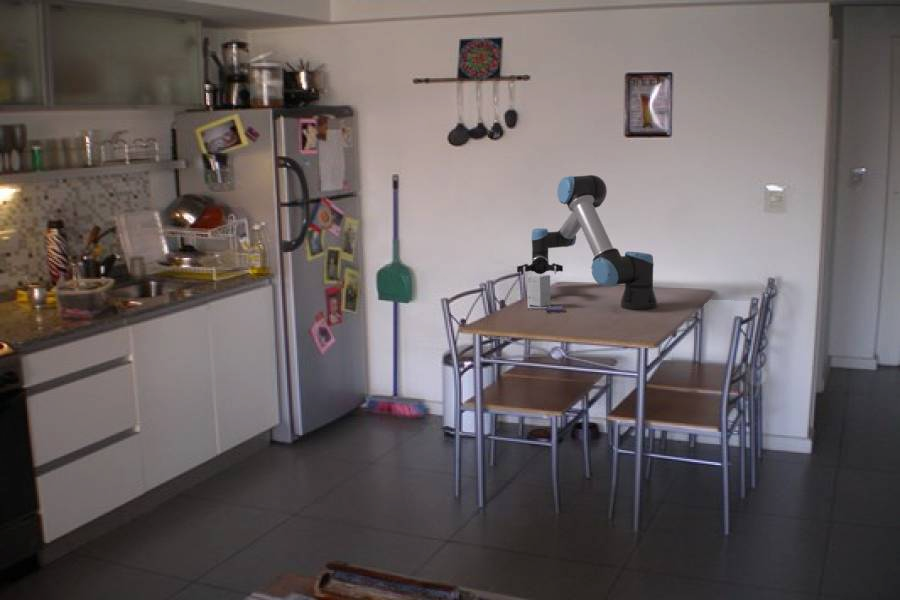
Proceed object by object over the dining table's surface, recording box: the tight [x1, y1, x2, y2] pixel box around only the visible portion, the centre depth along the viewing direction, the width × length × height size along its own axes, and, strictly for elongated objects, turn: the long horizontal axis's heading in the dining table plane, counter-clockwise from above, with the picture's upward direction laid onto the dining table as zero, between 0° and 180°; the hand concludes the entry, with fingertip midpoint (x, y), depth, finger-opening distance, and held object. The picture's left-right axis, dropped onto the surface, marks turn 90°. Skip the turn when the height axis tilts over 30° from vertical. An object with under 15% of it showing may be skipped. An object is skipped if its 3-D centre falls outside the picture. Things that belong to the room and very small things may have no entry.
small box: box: [526, 273, 551, 307], centre depth 418 cm, size 8×6×13 cm
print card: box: [527, 304, 551, 310], centre depth 419 cm, size 9×11×1 cm
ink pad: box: [546, 306, 565, 314], centre depth 409 cm, size 7×7×1 cm
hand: (539, 271), depth 426 cm, fingers open, 13 cm apart
